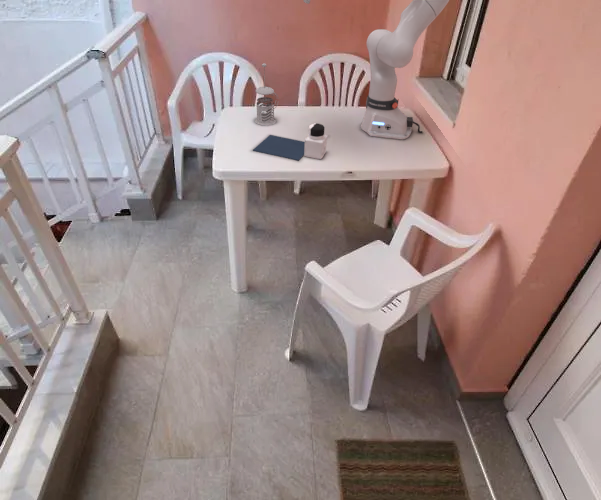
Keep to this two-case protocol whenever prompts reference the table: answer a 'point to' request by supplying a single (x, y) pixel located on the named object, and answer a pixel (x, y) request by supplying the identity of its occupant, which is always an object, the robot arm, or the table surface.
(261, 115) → the french press
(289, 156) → the mat
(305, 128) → the table surface
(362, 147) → the table surface
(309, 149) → the medicine bottle
